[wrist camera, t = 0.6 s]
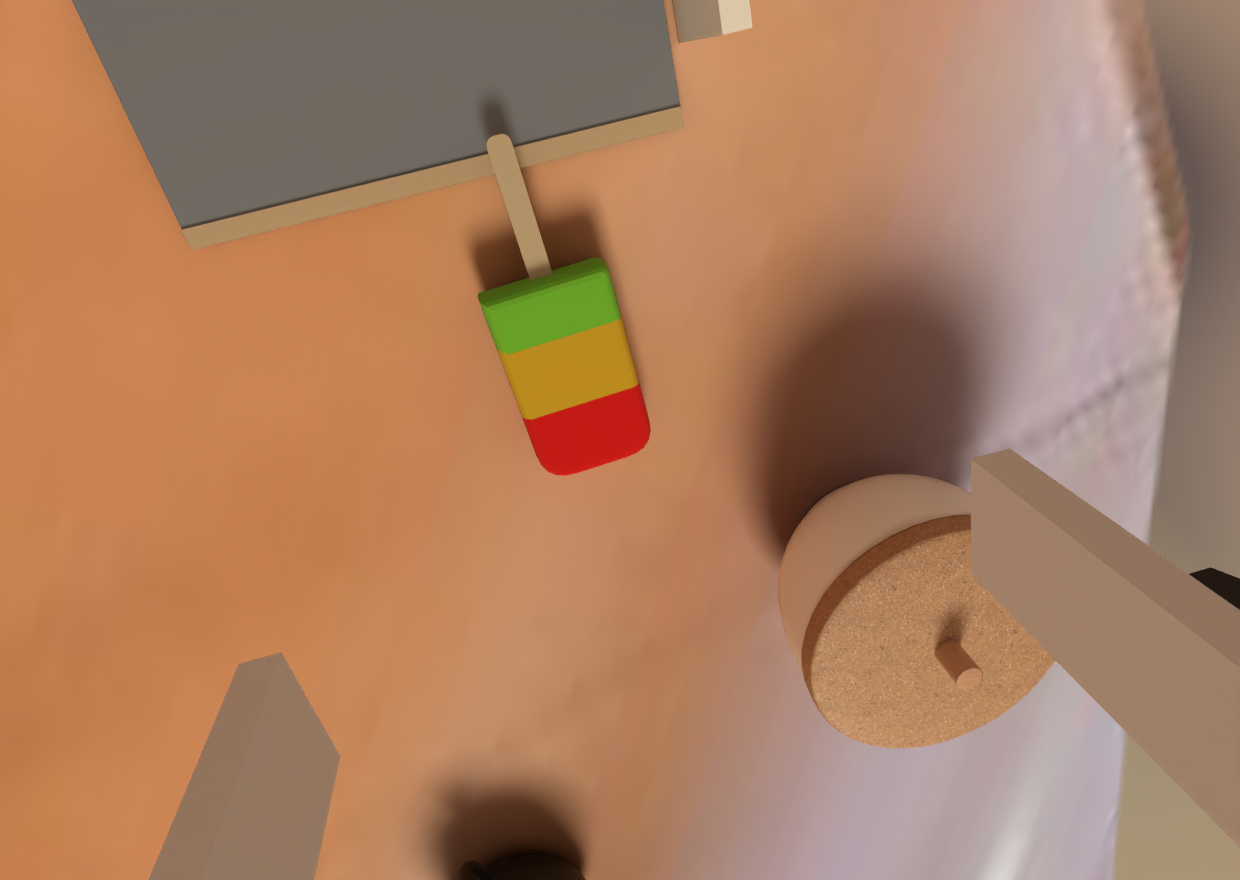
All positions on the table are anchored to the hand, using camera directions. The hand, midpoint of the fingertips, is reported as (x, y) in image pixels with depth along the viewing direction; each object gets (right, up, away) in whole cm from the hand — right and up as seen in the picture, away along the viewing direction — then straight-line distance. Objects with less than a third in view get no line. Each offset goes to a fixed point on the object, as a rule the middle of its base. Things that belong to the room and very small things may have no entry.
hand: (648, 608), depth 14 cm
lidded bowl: (+13, -2, +28) cm, 30 cm away
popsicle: (-4, +9, +19) cm, 21 cm away
